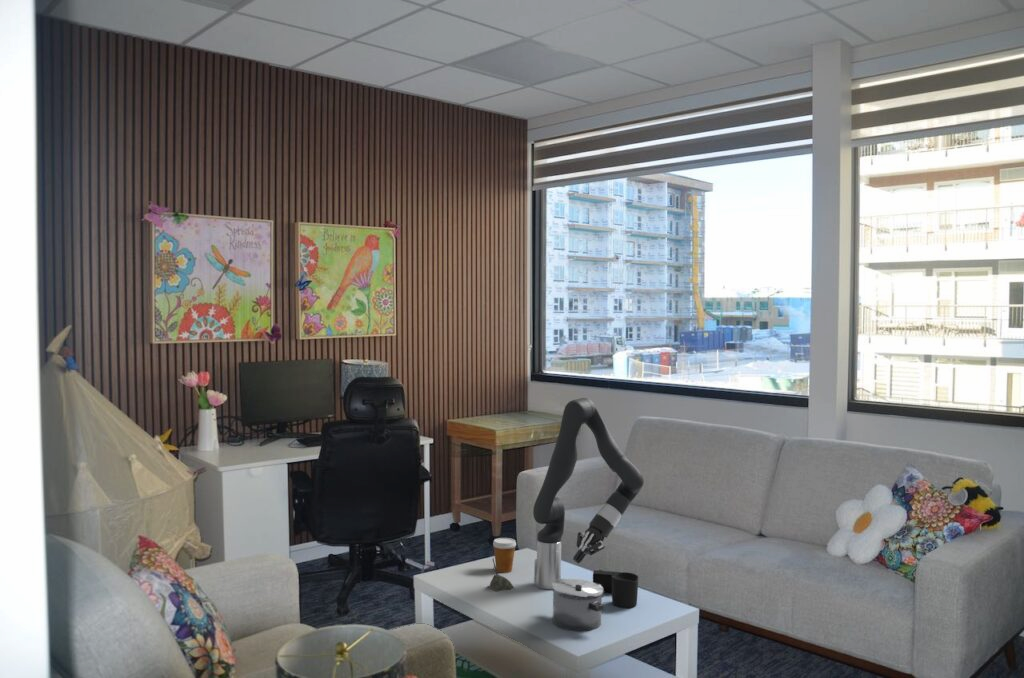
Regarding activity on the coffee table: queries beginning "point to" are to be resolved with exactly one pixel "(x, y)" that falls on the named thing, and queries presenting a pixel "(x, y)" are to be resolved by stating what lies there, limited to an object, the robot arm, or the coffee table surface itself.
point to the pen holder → (624, 590)
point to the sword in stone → (499, 582)
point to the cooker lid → (577, 587)
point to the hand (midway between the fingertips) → (575, 561)
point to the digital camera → (604, 579)
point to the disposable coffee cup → (504, 554)
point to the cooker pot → (577, 611)
